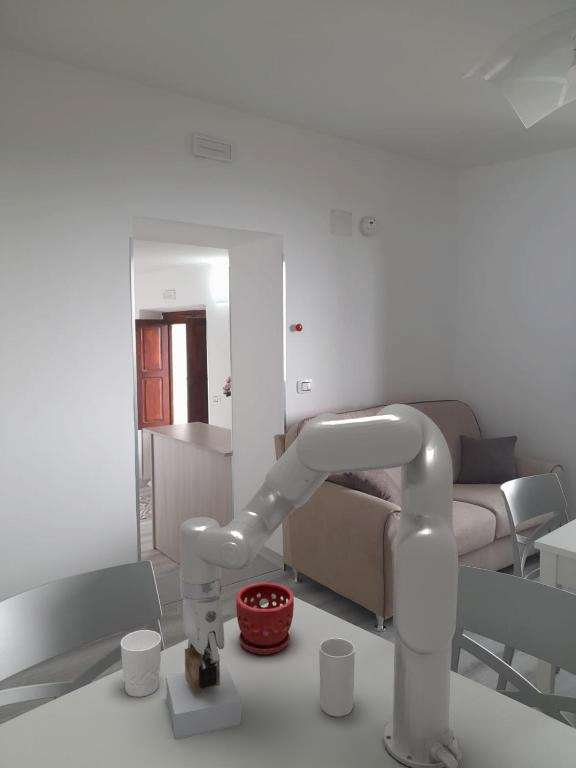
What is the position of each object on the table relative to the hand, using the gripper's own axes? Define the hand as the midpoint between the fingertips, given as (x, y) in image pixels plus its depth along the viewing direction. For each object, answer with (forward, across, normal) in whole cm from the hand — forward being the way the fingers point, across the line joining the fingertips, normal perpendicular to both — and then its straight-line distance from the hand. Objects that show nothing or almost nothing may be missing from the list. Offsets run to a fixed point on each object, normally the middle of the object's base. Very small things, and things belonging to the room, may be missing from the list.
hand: (202, 676), depth 111 cm
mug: (+7, -10, -24) cm, 27 cm away
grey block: (+7, 0, 0) cm, 7 cm away
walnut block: (+1, 0, 0) cm, 1 cm away
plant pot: (+7, +15, -21) cm, 27 cm away
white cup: (+7, +13, +8) cm, 17 cm away
